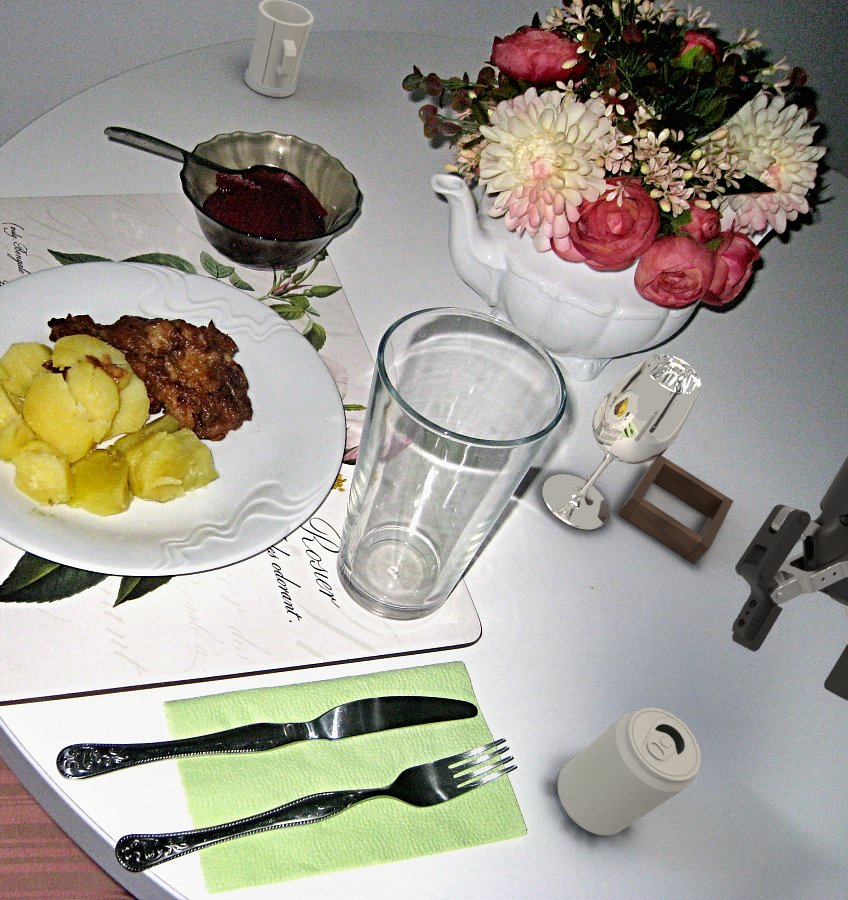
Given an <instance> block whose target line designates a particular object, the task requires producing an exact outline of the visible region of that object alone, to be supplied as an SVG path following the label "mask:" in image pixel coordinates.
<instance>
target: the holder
mask: <svg viewBox="0 0 848 900" xmlns="http://www.w3.org/2000/svg"><path fill="white" fill-rule="evenodd" d="M653 483H655V484H656V485H658V486H659V487H661V488H663V489H664V490H665V491H667V492H668V493H671V494H672V495H674V496H675V497H677V498H678V499H680V500H682V501H683V502H684V503H686V504H688V505H689V506H690V507H692V508H694V509H695V510H697V511H699V512H700V513H702V514H703V515H705V516H707V517H706V519H705V521H704V522H703V525H702V526H701V528H700V530H699V532H698V533H697V532H696V531H695V530H692V529H691V528H690V527H688V526H686V525H685V524H684V523H682V522H680V520H677V519H676V518H674V517H673V516H671V515H669V514H668V513H666V512H665V511H663V510H662V509H660V508H659V507H657V506H656V505H655V504H653V503H651V502H650V501H648V500H647V499H645V498H644V497H645V496H646V494H647V492H648V490H649V489H650V487H651V485H652V484H653ZM733 503H734V500H733V499H731V498H730V497H728V496H727V495H725V494H723V492H721V491H720V490H718V489H716V488H715V487H713V486H711V485H710V484H709V483H706V481H703V480H701V479H700V478H698V477H697V476H695V475H693V474H692V473H690V472H689V471H687V470H686V469H684V468H682V467H681V466H679V465H678V464H676V463H674V462H673V461H672V460H669V459H668V458H666V457H665V456H663V454H662V455H661V456H659V457H658V458H656V459H654V460H652V461H651V463H650V464H649V465H648V467H646V469H645V470H644V472H643V473H642V475H641V477H640V478H639V480H638V481H637V483H636V484H635V486H634V487H633V489H632V491H631V492H630V493H629V495H628V497H627V498H626V500H625V502H624V503H623V504H622V506H621V508H620V509H619V511H618V512H617V514H618V515H619V516H620V517H622V518H623V519H624V520H626V521H628V522H630V523H631V524H633V525H634V526H636V527H637V528H639V529H640V530H641V531H643V532H644V533H646V534H648V535H649V536H651V537H653V538H654V539H656V540H657V541H658V542H660V543H662V544H663V545H665V546H666V547H668V548H669V549H670V550H672V551H673V552H675V553H677V554H678V555H680V556H681V557H683V558H684V559H685V560H686V561H688V562H690V563H692V564H694V565H695V564H696V563H697V562H698V561H699V560H700V559H701V558H702V557H703V556H704V555H705V554H706V553H707V552H708V551H709V550H710V549H711V546H712V545H713V544H714V541H715V539H716V537H717V535H718V533H719V531H720V529H721V528H722V525H723V524H724V521H725V519H726V517H727V515H728V513H729V511H730V509H731V507H732V506H733Z"/></svg>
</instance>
